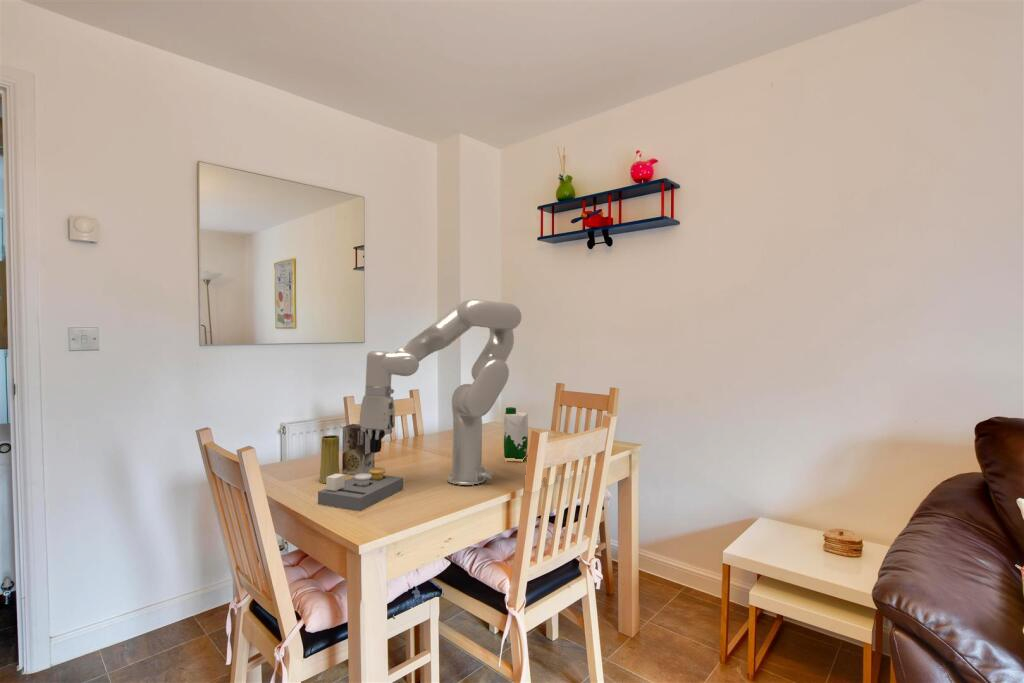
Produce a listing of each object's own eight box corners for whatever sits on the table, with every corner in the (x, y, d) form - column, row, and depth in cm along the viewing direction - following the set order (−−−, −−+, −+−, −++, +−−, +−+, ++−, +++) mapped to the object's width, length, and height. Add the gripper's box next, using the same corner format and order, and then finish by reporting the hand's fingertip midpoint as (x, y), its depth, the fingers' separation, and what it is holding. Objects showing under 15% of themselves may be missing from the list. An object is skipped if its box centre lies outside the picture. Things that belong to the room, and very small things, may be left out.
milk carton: (506, 456, 197) (507, 406, 197) (528, 458, 195) (529, 407, 195) (501, 461, 188) (502, 409, 188) (525, 463, 187) (526, 410, 187)
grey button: (374, 484, 146) (374, 474, 146) (364, 489, 142) (364, 478, 142) (361, 482, 148) (361, 472, 148) (350, 487, 143) (350, 476, 143)
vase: (342, 478, 163) (342, 435, 162) (336, 483, 156) (336, 438, 156) (323, 478, 162) (324, 434, 162) (316, 483, 156) (317, 438, 156)
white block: (344, 495, 141) (344, 474, 141) (334, 499, 137) (335, 478, 137) (335, 494, 142) (336, 473, 142) (326, 498, 138) (326, 477, 138)
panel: (403, 489, 152) (403, 477, 152) (360, 511, 133) (360, 498, 133) (364, 483, 157) (364, 472, 157) (317, 504, 137) (318, 491, 137)
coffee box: (375, 471, 172) (376, 424, 172) (364, 476, 166) (365, 428, 166) (352, 469, 174) (352, 423, 174) (341, 473, 168) (341, 426, 168)
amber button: (388, 478, 153) (388, 468, 153) (379, 482, 148) (379, 472, 148) (375, 476, 155) (375, 466, 155) (365, 480, 150) (365, 470, 150)
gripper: (405, 392, 152) (403, 452, 152) (365, 389, 157) (362, 446, 157) (392, 394, 145) (389, 457, 145) (349, 390, 150) (347, 451, 150)
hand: (375, 451), depth 151 cm, fingers closed
